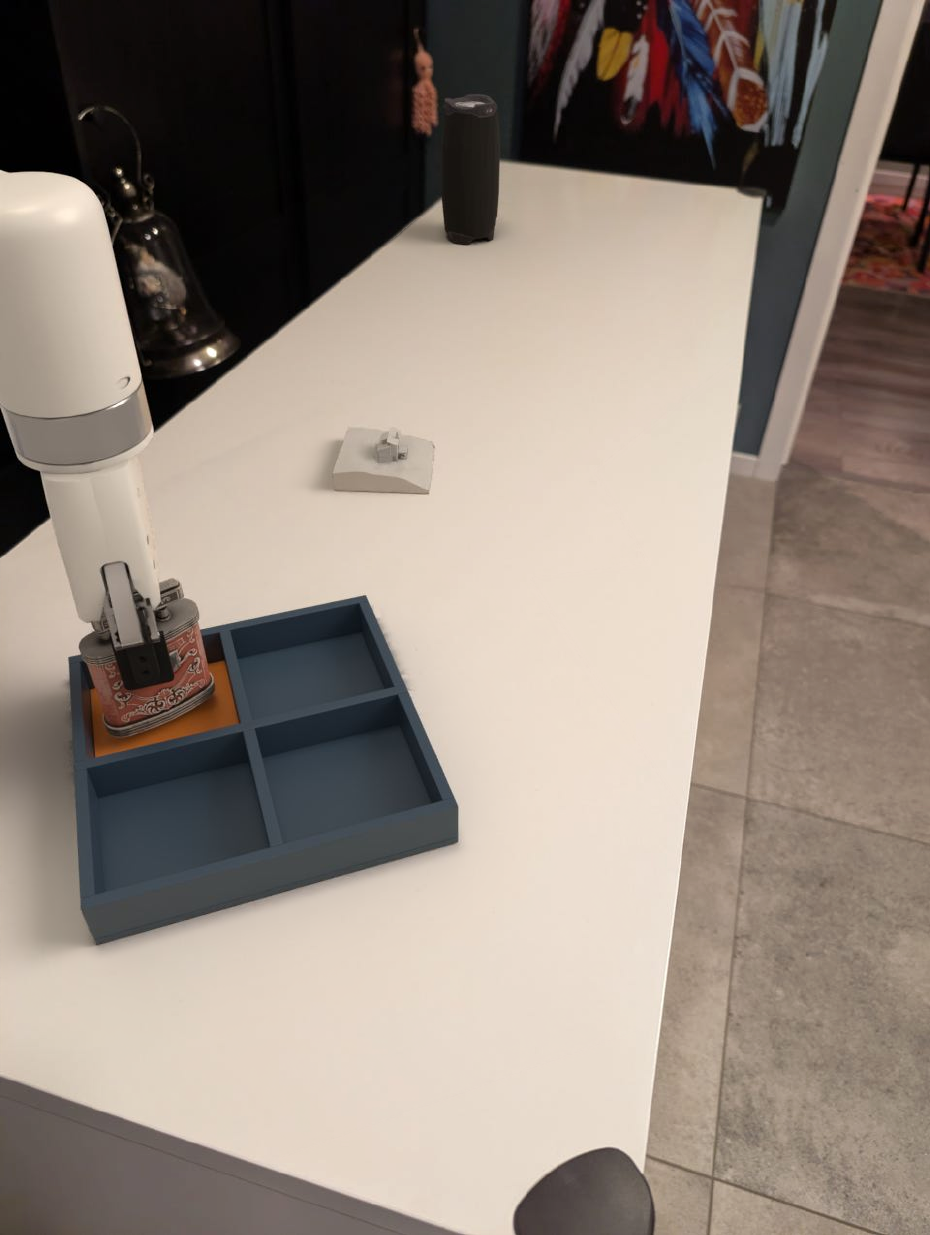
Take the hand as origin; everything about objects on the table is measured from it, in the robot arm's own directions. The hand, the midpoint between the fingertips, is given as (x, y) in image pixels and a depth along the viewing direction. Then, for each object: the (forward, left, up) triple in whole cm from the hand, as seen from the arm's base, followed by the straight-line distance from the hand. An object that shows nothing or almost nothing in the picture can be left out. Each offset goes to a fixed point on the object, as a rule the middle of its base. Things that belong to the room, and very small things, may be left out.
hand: (146, 657), depth 65 cm
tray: (+8, +2, -7) cm, 10 cm away
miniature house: (-13, +37, -7) cm, 40 cm away
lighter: (0, 0, -5) cm, 5 cm away
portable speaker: (-52, +96, -7) cm, 109 cm away
